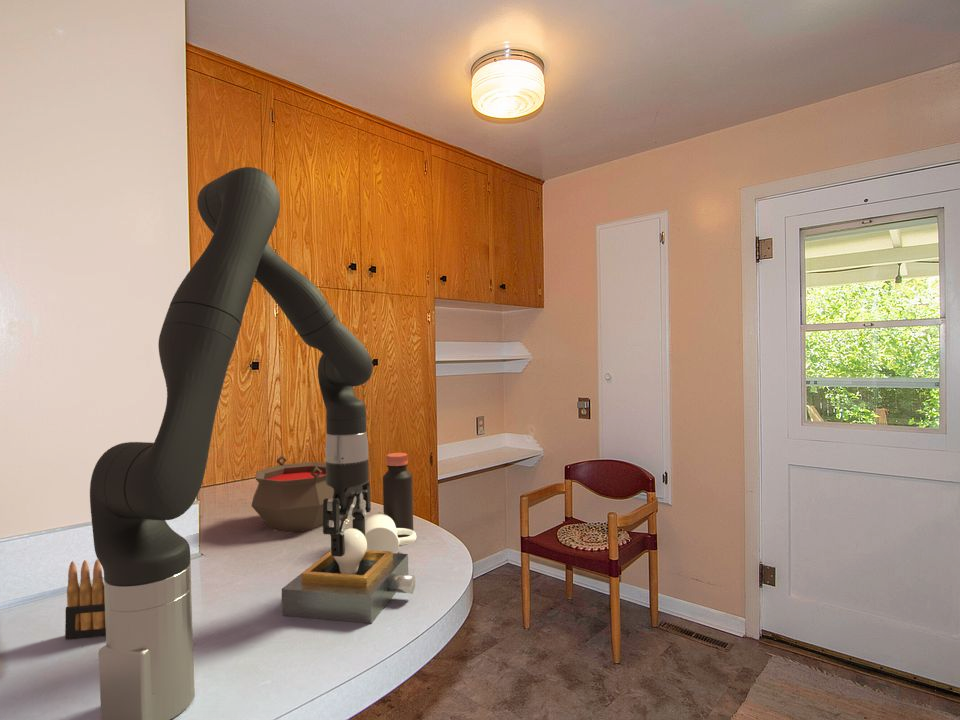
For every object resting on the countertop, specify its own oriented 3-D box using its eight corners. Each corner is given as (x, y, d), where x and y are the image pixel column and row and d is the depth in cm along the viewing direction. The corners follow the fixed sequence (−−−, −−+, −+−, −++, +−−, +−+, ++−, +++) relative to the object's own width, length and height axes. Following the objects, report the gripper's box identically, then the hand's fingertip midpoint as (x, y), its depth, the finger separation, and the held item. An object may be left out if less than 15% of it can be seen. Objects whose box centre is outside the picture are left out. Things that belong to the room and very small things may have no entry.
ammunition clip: (144, 627, 88) (141, 554, 88) (138, 633, 86) (136, 558, 86) (71, 633, 86) (69, 559, 86) (64, 640, 84) (62, 563, 84)
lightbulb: (357, 599, 94) (358, 536, 94) (324, 595, 95) (324, 533, 95) (372, 584, 100) (372, 524, 100) (340, 580, 101) (341, 522, 101)
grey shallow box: (394, 625, 87) (393, 588, 87) (282, 615, 91) (281, 580, 91) (428, 578, 104) (427, 547, 104) (332, 571, 108) (331, 542, 108)
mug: (360, 567, 110) (359, 529, 110) (360, 550, 120) (359, 514, 120) (418, 561, 113) (418, 523, 113) (414, 544, 123) (413, 509, 122)
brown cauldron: (364, 523, 139) (363, 459, 138) (271, 547, 123) (269, 476, 122) (322, 504, 156) (320, 448, 156) (235, 523, 140) (233, 461, 140)
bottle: (416, 542, 124) (414, 455, 123) (387, 547, 121) (385, 458, 121) (409, 533, 130) (407, 450, 129) (381, 537, 127) (379, 453, 127)
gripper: (348, 466, 90) (350, 563, 90) (382, 450, 103) (383, 535, 104) (307, 465, 91) (309, 560, 91) (345, 450, 105) (347, 532, 105)
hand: (349, 546), depth 98 cm, fingers open, 8 cm apart
